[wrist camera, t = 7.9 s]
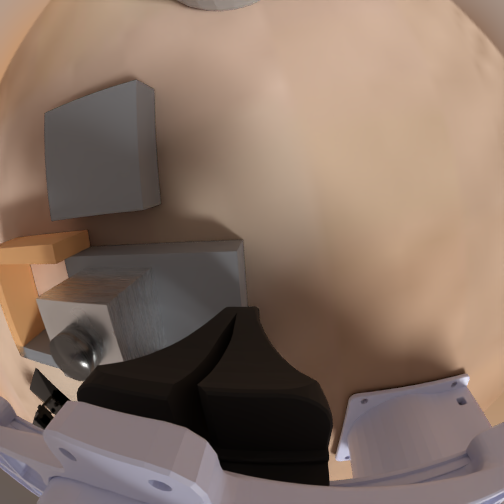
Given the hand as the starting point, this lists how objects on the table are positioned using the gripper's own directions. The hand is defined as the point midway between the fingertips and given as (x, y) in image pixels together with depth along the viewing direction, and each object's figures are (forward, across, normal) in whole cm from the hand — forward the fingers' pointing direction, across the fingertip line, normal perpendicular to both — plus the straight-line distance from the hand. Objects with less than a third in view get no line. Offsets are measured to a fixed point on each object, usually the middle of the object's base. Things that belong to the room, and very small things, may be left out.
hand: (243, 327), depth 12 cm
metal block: (+1, +6, 0) cm, 6 cm away
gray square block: (+3, +7, -8) cm, 11 cm away
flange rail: (+3, +8, 0) cm, 9 cm away
